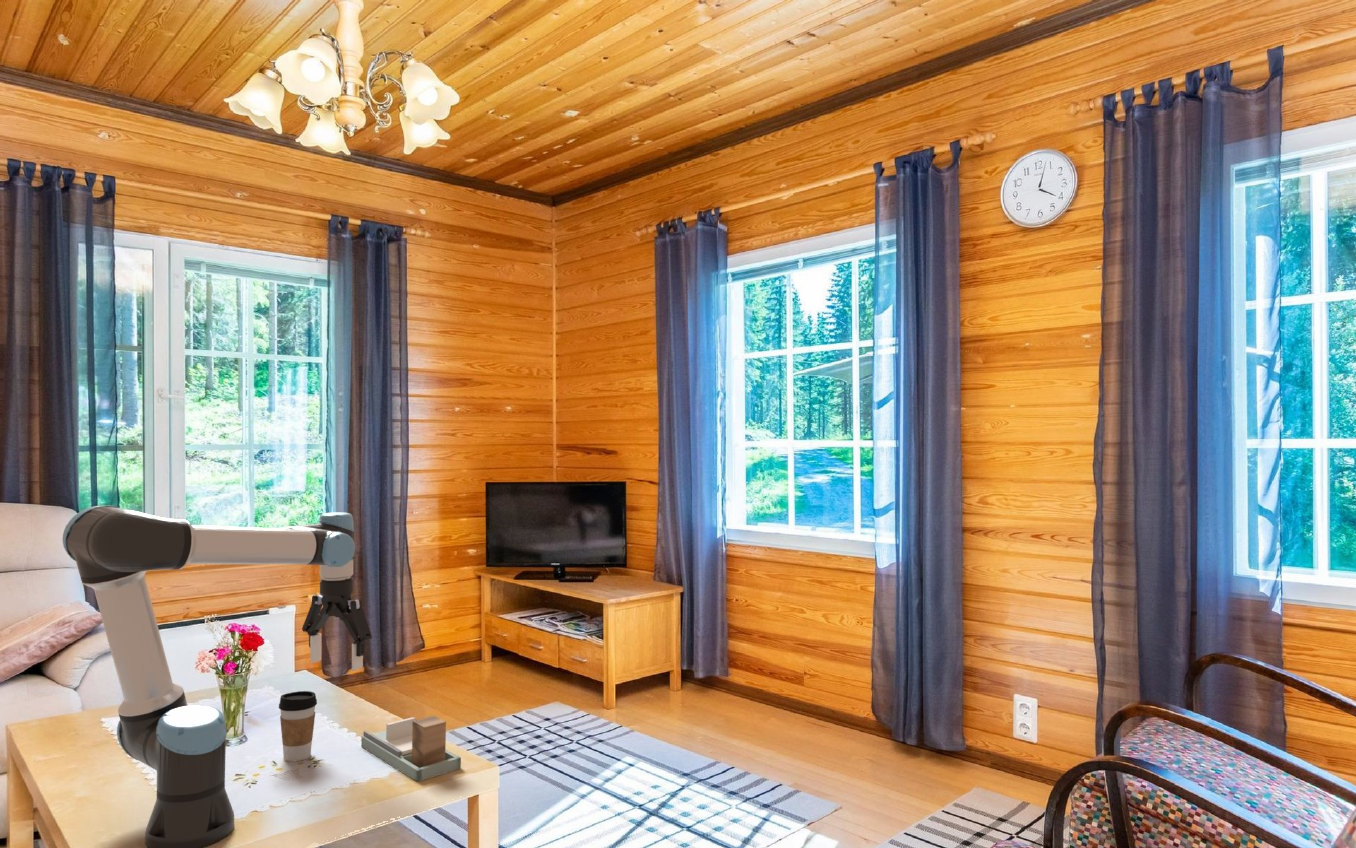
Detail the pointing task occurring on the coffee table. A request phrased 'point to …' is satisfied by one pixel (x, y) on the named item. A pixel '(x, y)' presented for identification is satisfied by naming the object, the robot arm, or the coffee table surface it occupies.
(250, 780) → the coffee table surface
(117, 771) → the coffee table surface
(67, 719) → the coffee table surface
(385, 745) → the tray
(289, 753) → the coffee cup
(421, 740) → the block
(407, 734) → the white l-shaped bracket
